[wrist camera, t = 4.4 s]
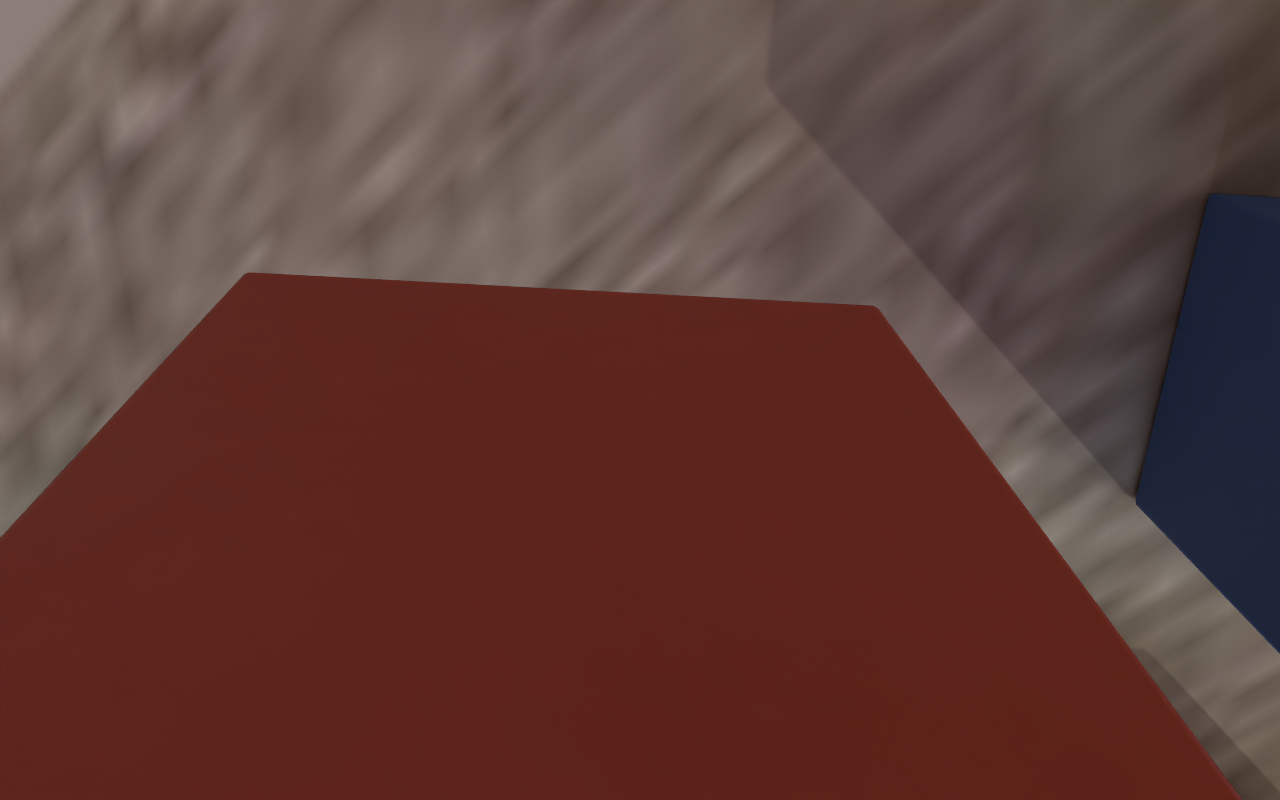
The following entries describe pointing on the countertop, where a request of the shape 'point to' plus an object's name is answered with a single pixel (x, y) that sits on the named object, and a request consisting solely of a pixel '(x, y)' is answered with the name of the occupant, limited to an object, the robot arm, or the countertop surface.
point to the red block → (555, 570)
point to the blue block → (1225, 413)
